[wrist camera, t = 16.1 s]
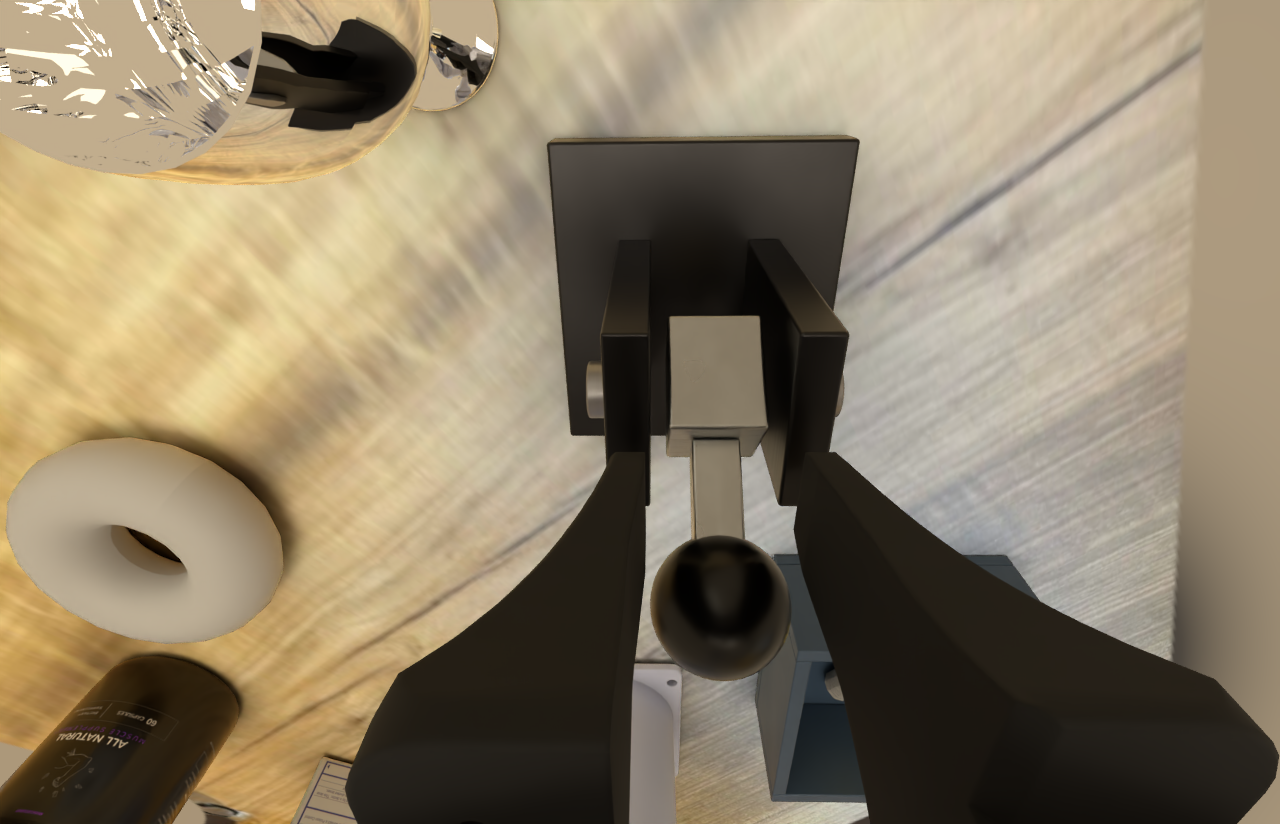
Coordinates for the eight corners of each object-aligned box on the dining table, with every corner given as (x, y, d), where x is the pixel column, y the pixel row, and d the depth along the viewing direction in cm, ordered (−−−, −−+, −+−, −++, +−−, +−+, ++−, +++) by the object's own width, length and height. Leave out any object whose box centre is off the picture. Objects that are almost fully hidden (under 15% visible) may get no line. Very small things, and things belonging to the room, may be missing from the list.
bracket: (807, 420, 23) (884, 593, 15) (574, 420, 23) (535, 591, 16) (849, 134, 18) (993, 181, 10) (552, 138, 18) (480, 186, 11)
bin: (950, 701, 31) (999, 805, 27) (754, 699, 32) (771, 802, 27) (1007, 555, 26) (1079, 653, 22) (773, 554, 26) (798, 651, 22)
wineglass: (561, 62, 17) (422, 50, 7) (412, 172, 19) (111, 299, 8) (428, -167, 15) (-100, -725, 4) (269, -19, 16) (-396, -174, 6)
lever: (781, 676, 14) (814, 688, 11) (650, 675, 14) (649, 686, 11) (759, 362, 16) (781, 307, 14) (650, 362, 16) (650, 308, 14)
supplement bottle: (171, 634, 30) (-87, 937, 19) (271, 711, 33) (93, 1009, 22) (80, 673, 32) (-202, 972, 21) (183, 743, 34) (-21, 1034, 24)
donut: (70, 563, 28) (289, 624, 29) (-2, 622, 25) (246, 687, 26) (48, 385, 23) (310, 468, 25) (-45, 431, 20) (261, 523, 22)
